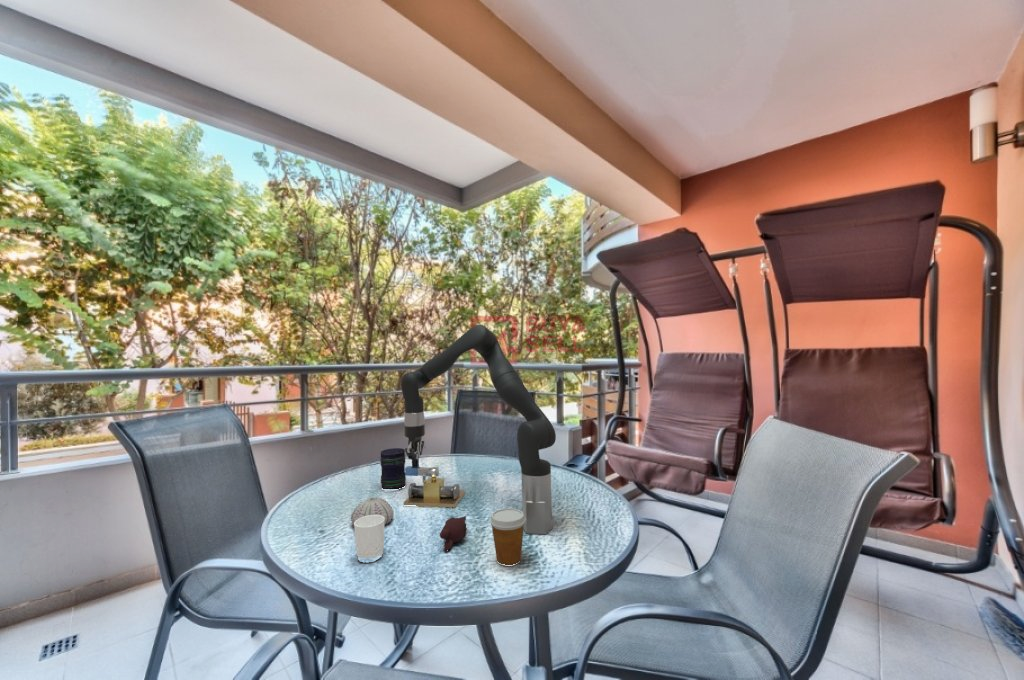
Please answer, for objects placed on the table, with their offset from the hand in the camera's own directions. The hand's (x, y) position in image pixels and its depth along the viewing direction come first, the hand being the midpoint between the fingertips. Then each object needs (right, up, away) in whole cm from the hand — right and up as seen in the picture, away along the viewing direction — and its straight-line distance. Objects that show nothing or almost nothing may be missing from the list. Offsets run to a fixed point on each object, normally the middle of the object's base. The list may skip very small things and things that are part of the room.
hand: (415, 468), depth 156 cm
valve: (+8, -11, -4) cm, 14 cm away
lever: (+3, -1, -4) cm, 5 cm away
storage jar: (-12, -12, +11) cm, 20 cm away
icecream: (+20, -10, -36) cm, 43 cm away
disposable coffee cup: (+36, -9, -48) cm, 61 cm away
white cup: (-2, -10, -45) cm, 46 cm away
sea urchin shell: (-9, -11, -23) cm, 27 cm away
